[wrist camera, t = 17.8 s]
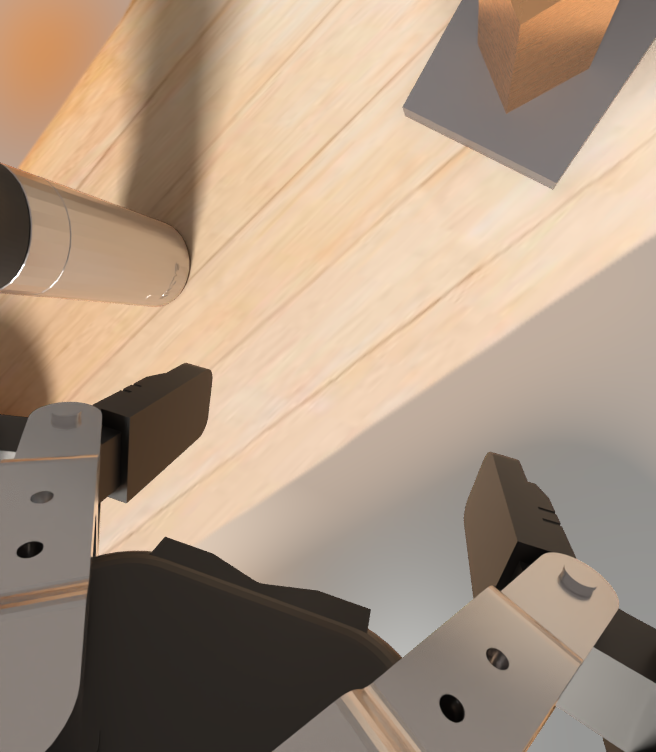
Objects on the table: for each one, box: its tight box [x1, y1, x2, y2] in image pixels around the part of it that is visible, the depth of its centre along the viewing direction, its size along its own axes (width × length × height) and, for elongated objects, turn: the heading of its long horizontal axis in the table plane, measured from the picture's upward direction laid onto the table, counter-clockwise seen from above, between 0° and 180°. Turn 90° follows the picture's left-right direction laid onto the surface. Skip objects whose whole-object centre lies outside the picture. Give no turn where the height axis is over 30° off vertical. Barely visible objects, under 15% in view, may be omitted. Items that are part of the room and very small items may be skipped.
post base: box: [403, 0, 656, 189], centre depth 30 cm, size 14×14×8 cm
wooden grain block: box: [478, 0, 620, 114], centre depth 27 cm, size 6×6×10 cm
